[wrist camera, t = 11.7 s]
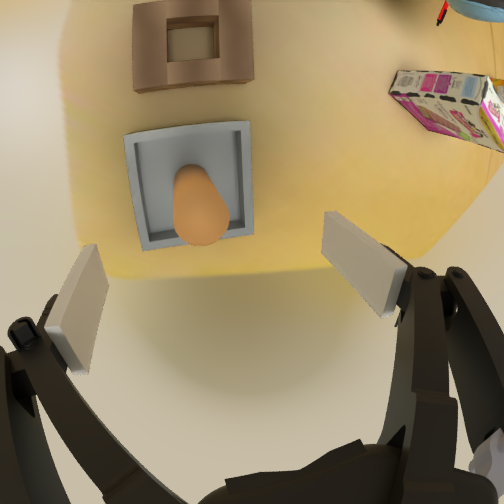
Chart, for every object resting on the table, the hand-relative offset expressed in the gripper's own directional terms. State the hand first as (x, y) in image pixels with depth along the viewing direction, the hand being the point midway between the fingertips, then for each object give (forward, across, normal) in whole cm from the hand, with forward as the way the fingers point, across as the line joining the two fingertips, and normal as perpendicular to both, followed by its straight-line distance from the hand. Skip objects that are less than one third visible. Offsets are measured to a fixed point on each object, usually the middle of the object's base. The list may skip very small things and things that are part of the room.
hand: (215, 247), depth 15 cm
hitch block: (+19, 0, +15) cm, 25 cm away
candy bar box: (+20, +34, +10) cm, 40 cm away
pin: (+18, 0, 0) cm, 18 cm away
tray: (+19, 0, -1) cm, 19 cm away
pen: (+21, +46, +35) cm, 62 cm away
